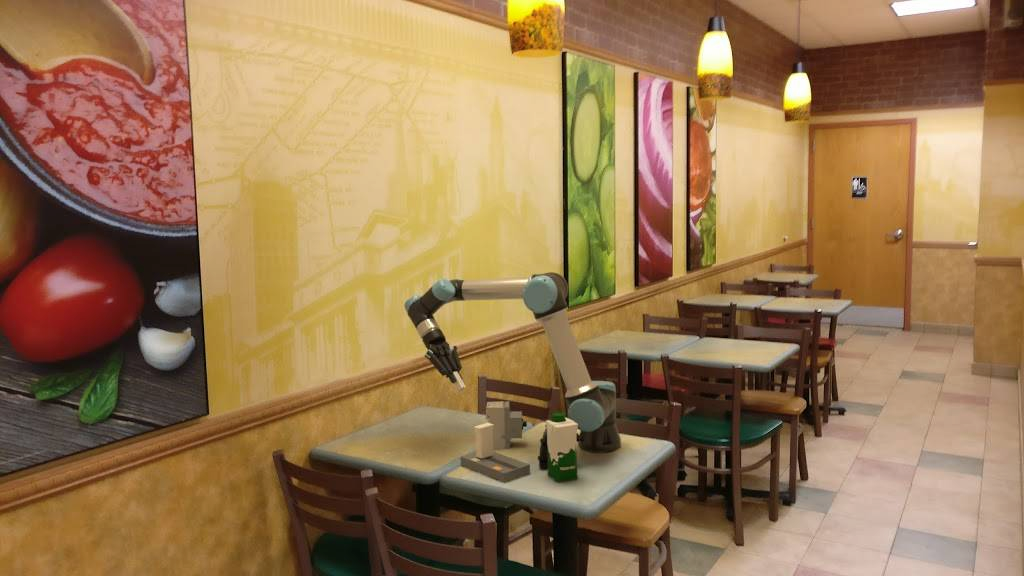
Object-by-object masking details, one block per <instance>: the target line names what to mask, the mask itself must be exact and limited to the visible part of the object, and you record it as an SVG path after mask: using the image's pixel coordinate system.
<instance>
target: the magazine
mask: <svg viewBox="0 0 1024 576" xmlns="http://www.w3.org/2000/svg"><path fill="white" fill-rule="evenodd" d="M544 426H545V430H544V432H543V435H542V438H540V440H539V442H540V446H539V455H537V460H538V468H539V469H540V470H542V471H543V470H548V452H547V428H546V424H545V425H544ZM579 434H580V433H578V432H577V435H576V436H577V443H578V442H579V439H578V438H579Z"/></svg>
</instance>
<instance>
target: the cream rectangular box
mask: <svg viewBox="0 0 1024 576" xmlns="http://www.w3.org/2000/svg"><path fill="white" fill-rule="evenodd" d="M493 429H494V424H491V423H489V422H485V423H481V424H479V425H475V426H473V431H474V432H475V433H474V434H475V452H476V457H479V458H486V457H489V456H492V455H494V453H493V451H494V449H493Z"/></svg>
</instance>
